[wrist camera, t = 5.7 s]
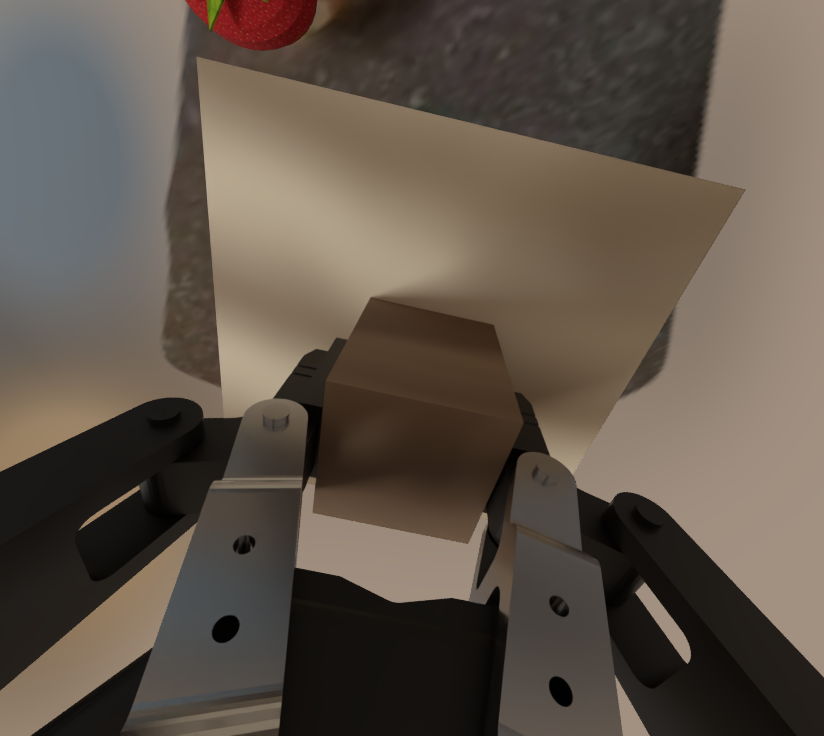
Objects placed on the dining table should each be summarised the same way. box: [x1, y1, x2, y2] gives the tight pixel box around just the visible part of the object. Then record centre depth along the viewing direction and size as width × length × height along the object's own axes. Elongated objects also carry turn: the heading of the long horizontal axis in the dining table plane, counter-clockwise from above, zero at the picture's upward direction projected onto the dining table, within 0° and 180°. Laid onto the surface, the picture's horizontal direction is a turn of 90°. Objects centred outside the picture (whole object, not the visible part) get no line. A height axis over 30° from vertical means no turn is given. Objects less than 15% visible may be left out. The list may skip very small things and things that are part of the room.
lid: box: [197, 57, 745, 544], centre depth 11 cm, size 14×14×6 cm
